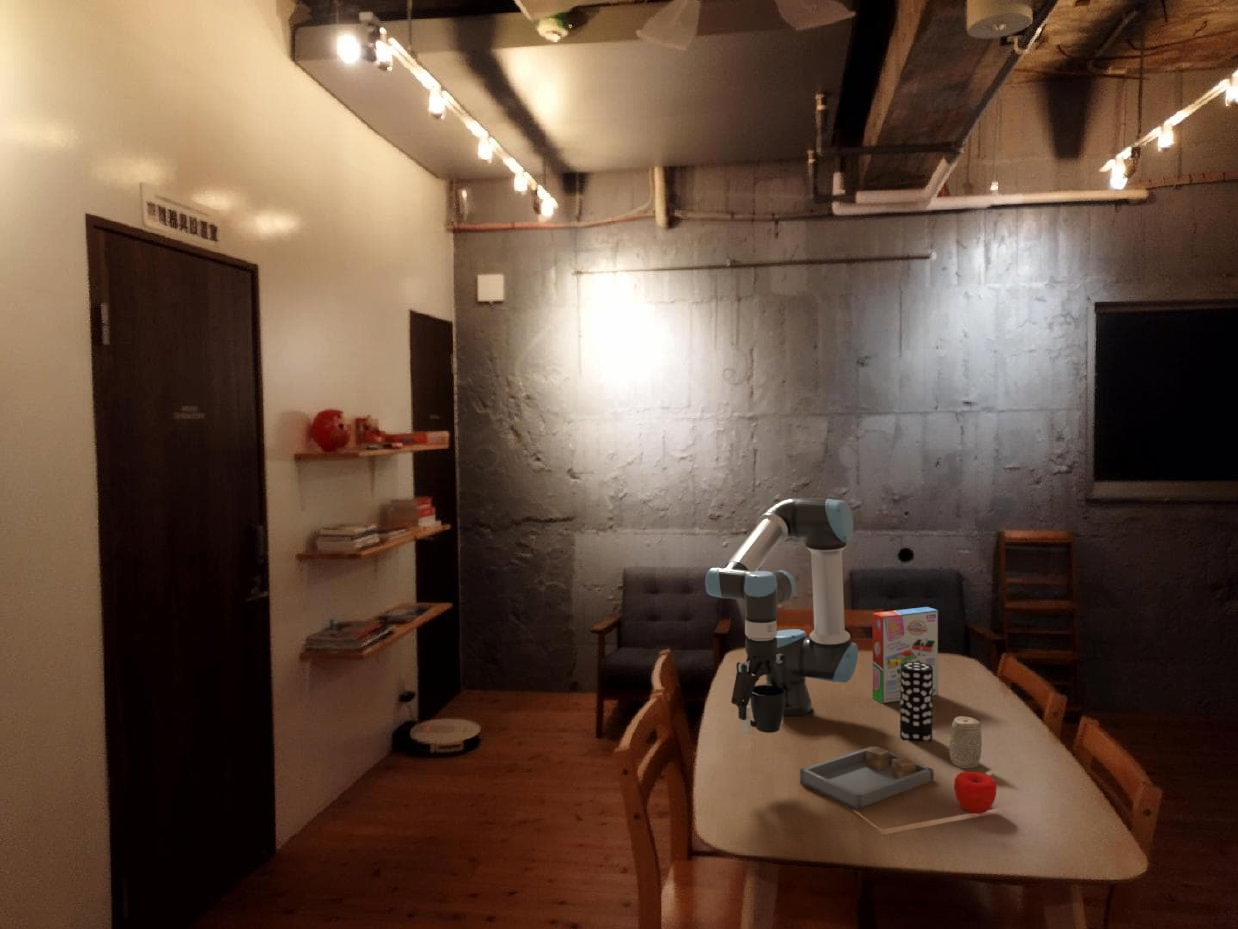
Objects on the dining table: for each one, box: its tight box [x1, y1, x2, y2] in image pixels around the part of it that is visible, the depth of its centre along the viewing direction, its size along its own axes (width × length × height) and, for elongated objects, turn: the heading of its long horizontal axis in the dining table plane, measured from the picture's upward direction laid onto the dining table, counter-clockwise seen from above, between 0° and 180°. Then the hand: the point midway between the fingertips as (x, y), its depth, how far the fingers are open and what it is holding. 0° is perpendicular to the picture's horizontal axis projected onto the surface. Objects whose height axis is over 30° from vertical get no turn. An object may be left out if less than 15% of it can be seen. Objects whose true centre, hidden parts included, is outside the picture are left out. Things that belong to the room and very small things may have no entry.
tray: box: [799, 745, 934, 813], centre depth 207 cm, size 18×26×4 cm
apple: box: [953, 771, 997, 814], centre depth 192 cm, size 9×9×8 cm
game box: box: [872, 606, 939, 704], centre depth 267 cm, size 21×6×27 cm, turn 108°
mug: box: [736, 684, 785, 734], centre depth 208 cm, size 8×12×10 cm
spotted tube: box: [899, 662, 934, 743], centre depth 234 cm, size 8×8×20 cm
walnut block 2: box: [892, 756, 917, 779], centre depth 208 cm, size 4×4×4 cm
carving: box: [949, 715, 983, 769], centre depth 216 cm, size 6×8×12 cm
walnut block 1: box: [866, 745, 890, 771], centre depth 215 cm, size 4×4×4 cm
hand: (762, 727), depth 208 cm, fingers closed on mug, 10 cm apart
